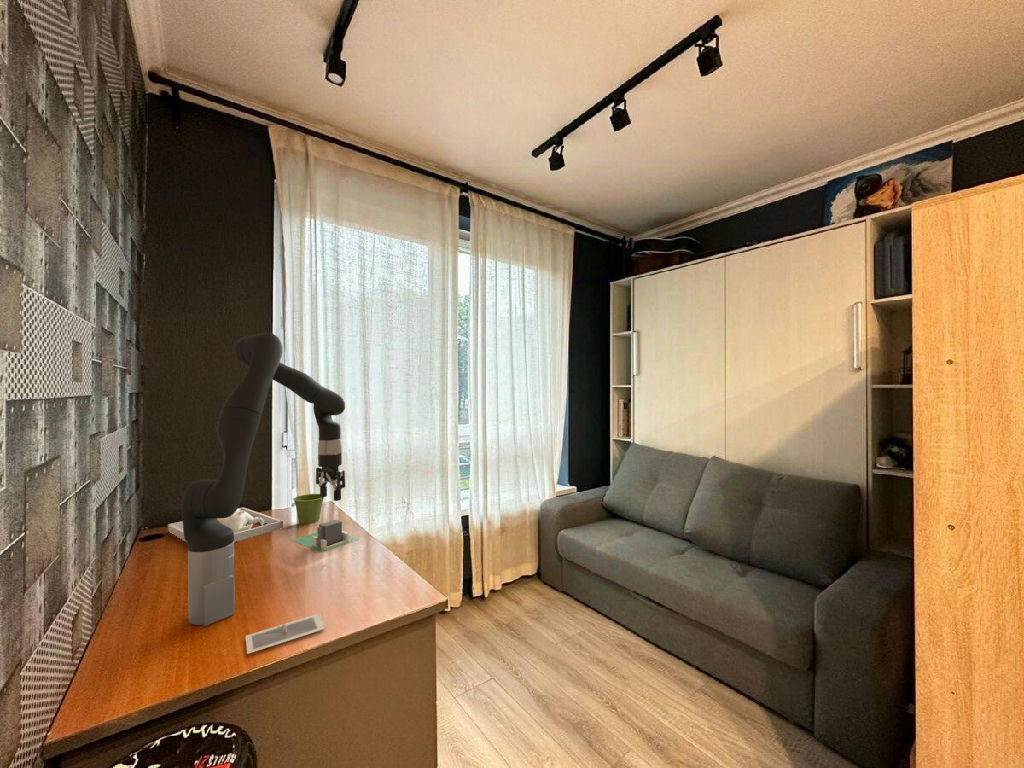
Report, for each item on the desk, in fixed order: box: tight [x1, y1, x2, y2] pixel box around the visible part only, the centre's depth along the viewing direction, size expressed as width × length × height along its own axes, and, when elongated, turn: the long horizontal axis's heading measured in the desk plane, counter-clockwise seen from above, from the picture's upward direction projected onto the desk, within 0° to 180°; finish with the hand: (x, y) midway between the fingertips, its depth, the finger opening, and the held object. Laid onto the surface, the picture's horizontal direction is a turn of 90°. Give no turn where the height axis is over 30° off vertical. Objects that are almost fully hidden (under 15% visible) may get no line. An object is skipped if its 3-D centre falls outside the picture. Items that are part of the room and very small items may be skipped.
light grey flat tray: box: [167, 506, 284, 543], centre depth 163 cm, size 36×27×3 cm
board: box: [291, 530, 360, 554], centre depth 147 cm, size 20×14×4 cm
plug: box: [316, 519, 343, 546], centre depth 143 cm, size 4×7×7 cm, turn 145°
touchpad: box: [245, 613, 326, 655], centre depth 92 cm, size 8×15×2 cm, turn 125°
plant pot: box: [292, 493, 325, 525], centre depth 168 cm, size 12×12×11 cm
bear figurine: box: [217, 508, 265, 533], centre depth 160 cm, size 17×14×20 cm
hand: (330, 498), depth 143 cm, fingers open, 8 cm apart
